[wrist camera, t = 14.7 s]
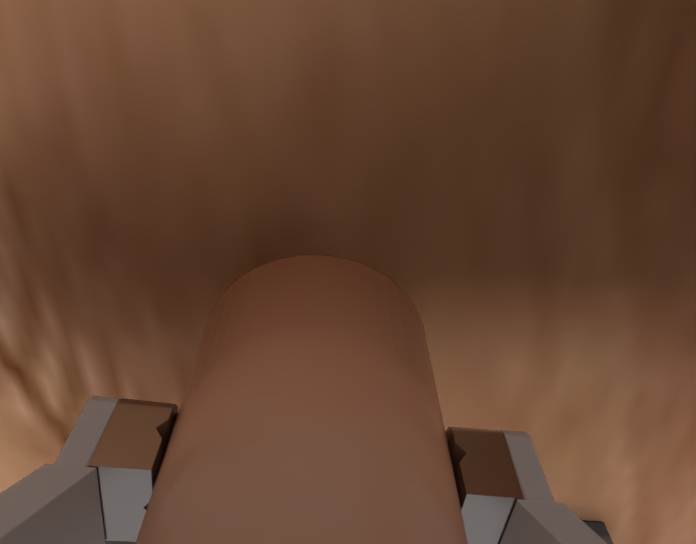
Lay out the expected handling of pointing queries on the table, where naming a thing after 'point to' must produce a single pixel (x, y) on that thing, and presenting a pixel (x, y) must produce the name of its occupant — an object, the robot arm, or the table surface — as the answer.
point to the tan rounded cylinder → (308, 419)
